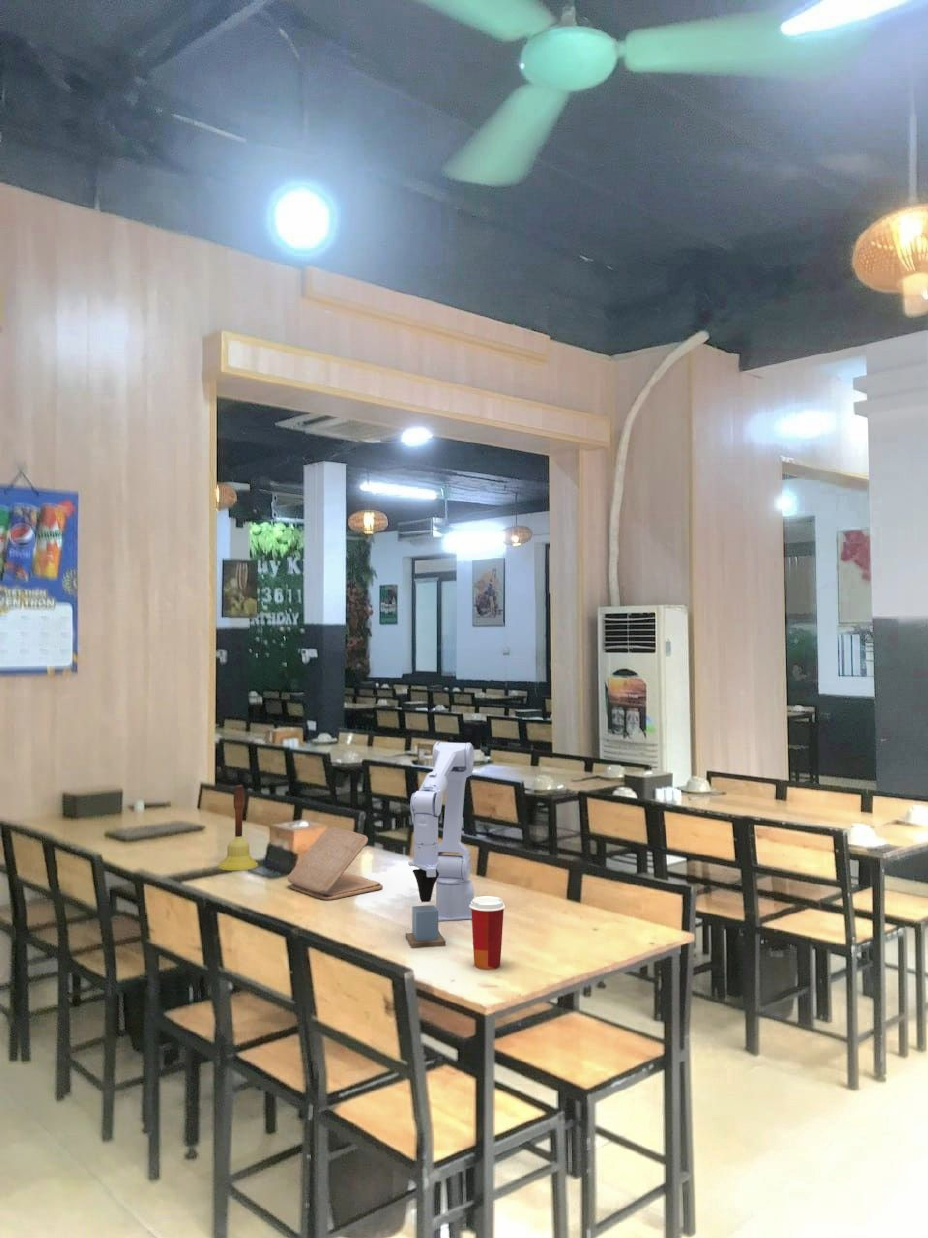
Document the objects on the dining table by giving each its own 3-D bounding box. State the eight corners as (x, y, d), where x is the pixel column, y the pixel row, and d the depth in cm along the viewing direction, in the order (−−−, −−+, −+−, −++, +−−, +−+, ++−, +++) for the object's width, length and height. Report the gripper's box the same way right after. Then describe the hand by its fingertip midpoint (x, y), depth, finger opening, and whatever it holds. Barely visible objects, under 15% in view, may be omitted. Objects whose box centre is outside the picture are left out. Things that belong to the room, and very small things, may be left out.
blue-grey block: (433, 933, 227) (434, 905, 227) (438, 940, 222) (438, 911, 222) (412, 934, 226) (412, 906, 226) (416, 941, 221) (416, 912, 221)
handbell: (216, 862, 303) (217, 783, 304) (256, 860, 307) (257, 781, 308) (218, 871, 292) (219, 788, 292) (260, 869, 295) (261, 787, 296)
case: (284, 888, 273) (284, 832, 273) (345, 876, 287) (345, 822, 287) (323, 904, 258) (324, 844, 258) (386, 890, 271) (387, 833, 272)
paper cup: (503, 959, 212) (503, 895, 212) (506, 971, 204) (506, 905, 204) (468, 959, 211) (468, 895, 212) (469, 971, 204) (469, 905, 204)
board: (438, 935, 229) (438, 931, 229) (445, 945, 221) (445, 941, 221) (405, 937, 227) (405, 933, 227) (411, 948, 219) (411, 943, 219)
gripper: (403, 837, 231) (403, 894, 230) (414, 850, 217) (413, 910, 216) (432, 836, 232) (432, 892, 232) (444, 848, 218) (444, 908, 218)
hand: (425, 901), depth 224 cm, fingers closed
